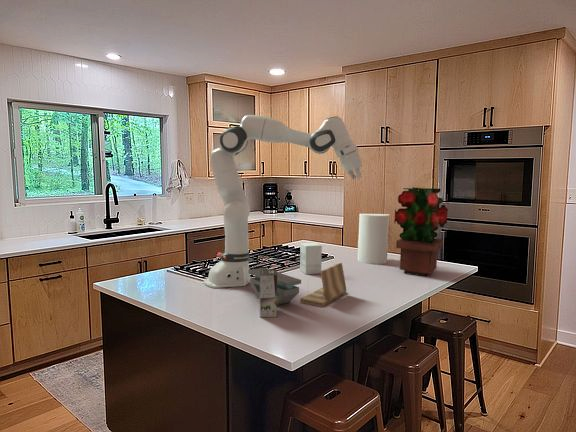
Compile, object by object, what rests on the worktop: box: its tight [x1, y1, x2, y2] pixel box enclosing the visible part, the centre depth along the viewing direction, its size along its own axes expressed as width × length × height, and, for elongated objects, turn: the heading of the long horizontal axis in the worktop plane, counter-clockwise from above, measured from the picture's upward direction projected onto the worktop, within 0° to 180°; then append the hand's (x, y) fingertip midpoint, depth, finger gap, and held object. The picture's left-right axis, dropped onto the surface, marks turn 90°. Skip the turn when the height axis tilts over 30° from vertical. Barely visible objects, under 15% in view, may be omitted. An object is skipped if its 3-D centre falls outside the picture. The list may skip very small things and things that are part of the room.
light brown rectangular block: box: [299, 287, 347, 308], centre depth 188 cm, size 24×10×6 cm, turn 149°
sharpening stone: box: [249, 267, 302, 306], centre depth 182 cm, size 25×8×11 cm, turn 40°
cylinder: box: [357, 213, 390, 265], centre depth 260 cm, size 17×17×28 cm
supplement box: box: [299, 242, 323, 275], centre depth 230 cm, size 9×9×15 cm
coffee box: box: [259, 268, 278, 318], centre depth 166 cm, size 9×6×16 cm
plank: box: [320, 262, 347, 301], centre depth 185 cm, size 18×12×1 cm
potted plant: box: [393, 186, 448, 277], centre depth 233 cm, size 22×22×45 cm
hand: (357, 178), depth 201 cm, fingers open, 8 cm apart
